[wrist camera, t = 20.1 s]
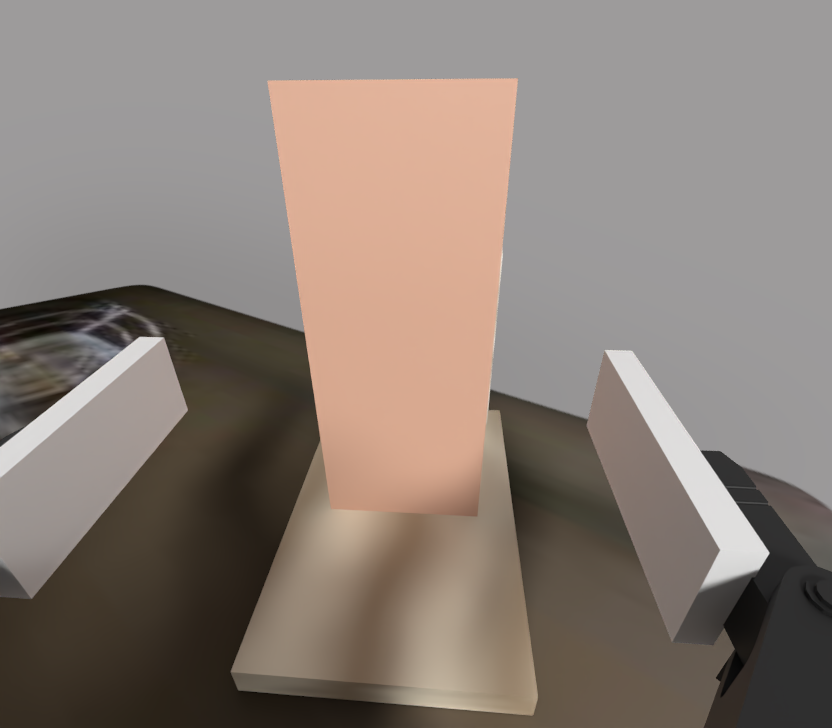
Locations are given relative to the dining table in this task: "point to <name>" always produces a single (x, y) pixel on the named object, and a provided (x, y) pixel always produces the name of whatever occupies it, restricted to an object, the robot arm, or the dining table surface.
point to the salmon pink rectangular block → (398, 277)
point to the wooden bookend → (397, 602)
